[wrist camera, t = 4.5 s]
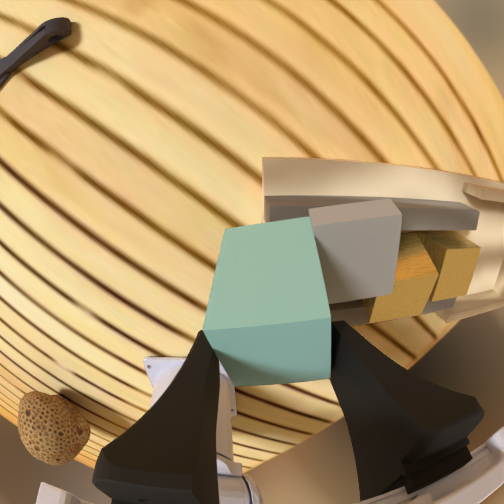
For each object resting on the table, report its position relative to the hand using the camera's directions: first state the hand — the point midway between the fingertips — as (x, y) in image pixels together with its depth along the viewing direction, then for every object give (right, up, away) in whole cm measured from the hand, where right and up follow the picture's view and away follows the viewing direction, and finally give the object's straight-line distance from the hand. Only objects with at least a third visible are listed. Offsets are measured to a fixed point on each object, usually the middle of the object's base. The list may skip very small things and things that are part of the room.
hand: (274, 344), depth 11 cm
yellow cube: (+13, +4, +8) cm, 16 cm away
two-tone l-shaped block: (+2, +4, +3) cm, 5 cm away
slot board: (+13, +4, +9) cm, 17 cm away
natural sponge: (-24, -14, +15) cm, 32 cm away
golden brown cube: (+9, +4, +7) cm, 12 cm away
